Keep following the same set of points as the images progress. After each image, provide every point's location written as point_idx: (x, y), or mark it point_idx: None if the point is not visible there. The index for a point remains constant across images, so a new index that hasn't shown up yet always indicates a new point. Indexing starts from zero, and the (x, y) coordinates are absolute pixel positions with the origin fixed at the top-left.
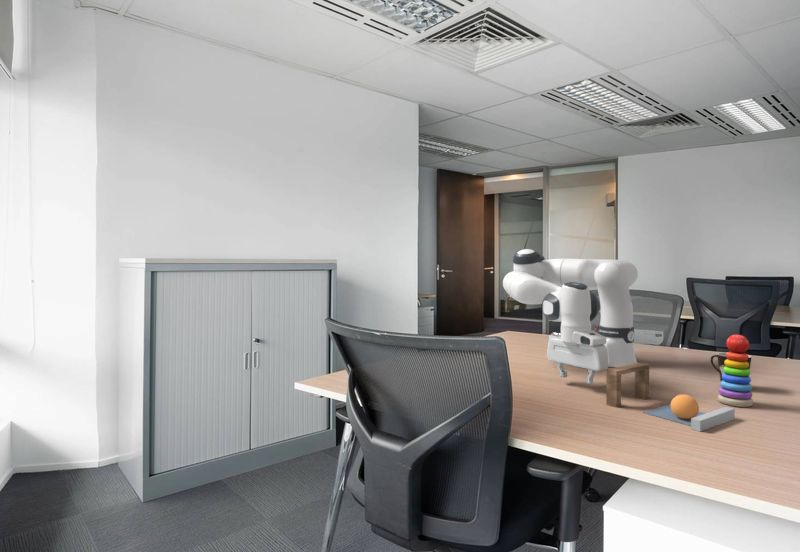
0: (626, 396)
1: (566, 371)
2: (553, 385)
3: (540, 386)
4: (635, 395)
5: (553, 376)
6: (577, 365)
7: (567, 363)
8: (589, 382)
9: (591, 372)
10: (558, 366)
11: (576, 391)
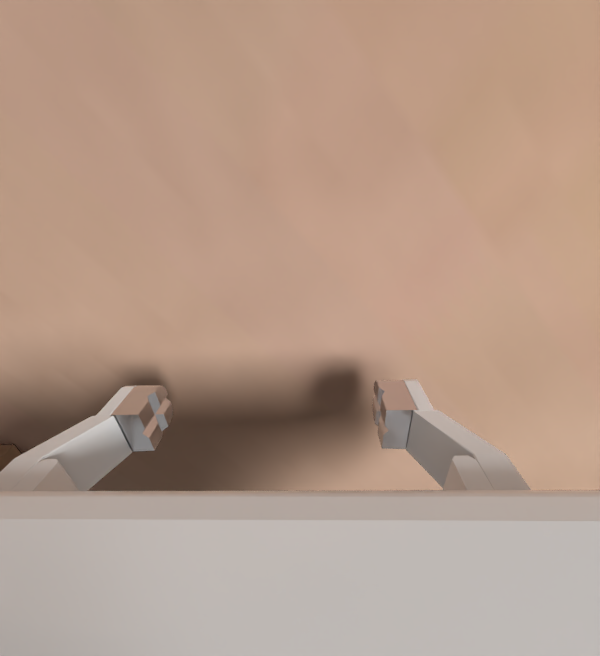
0: (29, 426)
1: (387, 446)
2: (408, 280)
3: (472, 149)
4: (3, 451)
5: (538, 439)
6: (131, 504)
7: (314, 502)
8: (119, 392)
9: (12, 466)
10: (472, 448)
11: (197, 294)
